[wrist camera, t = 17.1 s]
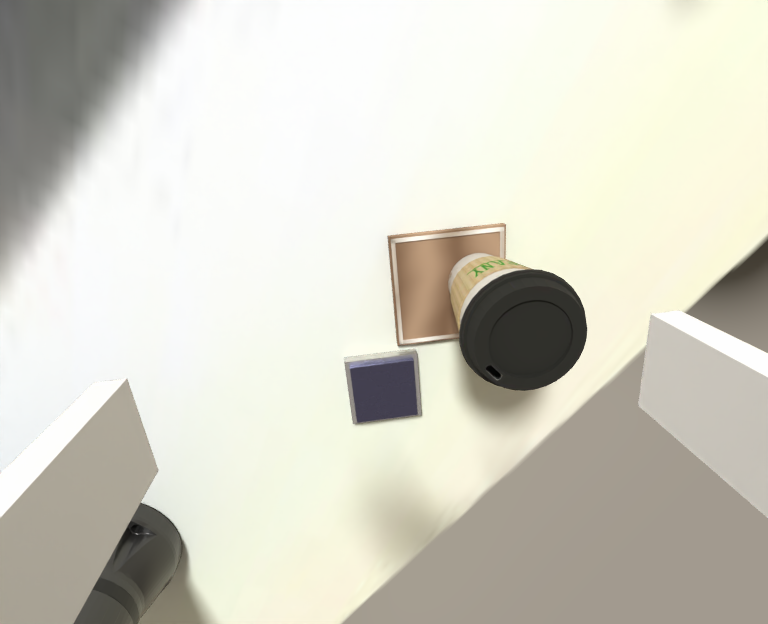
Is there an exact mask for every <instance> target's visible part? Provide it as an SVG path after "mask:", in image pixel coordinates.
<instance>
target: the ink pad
mask: <svg viewBox="0 0 768 624" xmlns="http://www.w3.org/2000/svg"><path fill="white" fill-rule="evenodd" d="M344 362H345V370H346V377H347V384H348V391H349V399H350V406H351V413H352V420H353V424H357V423H364V422H372V421H379V420H387V419H394V418H402V417H409V416H417V415H421V401H420V387H419V373H418V359H417V352H416V349H408V350H400V351H392V352H384V353H376V354H368V355H360V356H352V357H344Z"/></svg>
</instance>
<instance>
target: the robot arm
mask: <svg viewBox="0 0 768 624" xmlns="http://www.w3.org/2000/svg"><path fill="white" fill-rule="evenodd" d="M638 406H639V407H640V408H642V409H643V410H644V411H645V412H646V413H648V415H650V416H651V417H652V418H653V419H655V421H657V422H658V423H659V424H660V425H661V426H662V427H663V428H665V429H666V430H667V431H668V432H669V433H670V434H672V435H673V436H674V437H675V438H676V439H677V440H678V441H680V442H681V443H682V444H683V445H684V446H685V447H686V448H688V449H689V450H690V451H691V452H692V453H693V454H695V455H696V456H697V457H698V458H699V459H700V460H701V461H703V462H704V463H705V464H706V465H707V466H708V467H710V468H711V469H712V470H713V471H714V472H715V473H716V474H717V475H719V476H720V477H721V478H722V479H723V480H724V481H726V482H727V483H728V484H729V485H730V486H731V487H732V488H734V489H735V490H736V491H737V492H738V493H739V494H741V495H742V496H743V497H744V498H745V499H746V500H747V501H749V502H750V503H751V504H752V505H753V506H754V507H756V508H757V509H758V510H759V511H760V512H761V513H762V514H764V515H765V516H766V517H767V518H768V353H766V352H764V351H762V350H759V349H758V348H756V347H753V346H751V345H749V344H747V343H745V342H743V341H741V340H739V339H737V338H735V337H733V336H730V335H729V334H727V333H725V332H723V331H720V330H718V329H716V328H714V327H712V326H710V325H708V324H706V323H704V322H702V321H700V320H698V319H696V318H694V317H692V316H690V315H687V314H685V313H683V312H681V311H671V312H663V313H655V314H651V316H650V323H649V330H648V337H647V345H646V352H645V360H644V367H643V374H642V381H641V389H640V396H639V403H638ZM157 472H158V468H157V465H156V462H155V459H154V456H153V453H152V450H151V447H150V444H149V441H148V439H147V436H146V433H145V430H144V427H143V424H142V421H141V418H140V415H139V412H138V409H137V406H136V403H135V400H134V398H133V395H132V392H131V389H130V386H129V383H128V380H127V379H119V380H111V381H103V382H95V383H93V384H92V385H91V386H90V387H89V388H88V389H87V390H86V391H85V392H84V393H83V394H82V395H81V396H80V397H79V398H78V399H77V400H76V401H75V402H74V403H73V404H72V405H70V406H69V407H68V408H67V409H66V410H65V411H64V412H63V413H62V414H61V415H60V416H59V417H58V418H57V419H56V420H55V421H54V422H53V423H52V424H51V425H50V426H49V427H48V428H47V429H46V430H45V431H44V432H43V433H42V434H41V435H40V436H39V437H37V438H36V439H35V440H34V441H33V442H32V443H31V444H30V445H29V446H28V447H27V448H26V449H25V450H24V451H23V452H22V453H21V454H20V455H19V456H18V457H17V458H16V459H15V460H14V461H13V462H12V463H11V464H10V465H9V466H8V467H7V468H5V469H4V470H3V471H2V472H1V473H0V624H138V622H139V620H140V618H141V617H142V616H143V614H144V613H145V612H146V611H147V609H148V608H149V607H150V605H151V604H152V603H153V602H154V600H155V599H156V598H157V596H158V595H159V594H160V592H161V591H162V590H163V589H164V588H165V587H166V586H167V585H168V584H169V582H170V581H171V579H172V577H173V575H174V573H175V571H176V568H177V566H178V563H179V560H180V557H181V553H182V544H181V539H180V536H179V534H178V532H177V530H176V528H175V527H174V526H173V524H172V523H171V522H170V521H169V520H168V519H167V518H166V517H165V516H163V515H162V514H161V513H159V512H158V511H156V510H154V509H153V508H151V507H148V506H146V505H144V504H141V501H142V499H143V497H144V496H145V494H146V492H147V490H148V488H149V486H150V485H151V483H152V481H153V479H154V477H155V476H156V474H157Z"/></svg>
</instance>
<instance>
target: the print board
mask: <svg viewBox="0 0 768 624" xmlns="http://www.w3.org/2000/svg"><path fill="white" fill-rule="evenodd" d="M388 246H389V257H390V269H391V280H392V291H393V303H394V314H395V325H396V337H397V344H398V346H400V345H408V344H416V343H424V342H432V341H440V340H448V339H457V338H459V329H458V326H457V322H456V318H455V315H454V311H453V307H452V304H451V298H450V292H449V288H448V281H449V276H450V273H451V271H452V269H453V267H454V266H455V265H456V263H457V262H458V261H460V260H461V259H462V258H464V257H466V256H468V255H471V254H474V253H486V254H489V255H492V256H496V257H500V258H504V259H505V253H506V224H504V223H500V224H491V225H482V226H473V227H464V228H455V229H446V230H436V231H427V232H418V233H409V234H400V235H391V236H388Z"/></svg>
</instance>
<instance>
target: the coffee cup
mask: <svg viewBox="0 0 768 624" xmlns="http://www.w3.org/2000/svg"><path fill="white" fill-rule="evenodd" d="M448 288H449V292H450V298H451V304H452V307H453V311H454V315H455V318H456V322H457V326H458V329H459V342H460V347H461V351H462V354H463V356H464V358H465V360H466V362H467V364H468V365H469V366H470V367H471V368H472V369H473V371H474V372H475V373H477V374H478V375H479V376H480V377H482V378H483V379H484V380H486V381H488V382H490V383H492V384H495V385H497V386H501V387H504V388H508V389H512V390H523V391H525V390H533V389H538V388H541V387H544V386H547V385H549V384H551V383H553V382H555V381H557V380H558V379H560V378H561V377H562V376H564V375H565V374H566V373H567V372H568V371H569V370H570V369H571V368H572V367H573V366H574V364H575V363H576V362H577V360H578V359H579V357H580V355H581V353H582V351H583V349H584V346H585V342H586V337H587V325H586V318H585V311H584V307H583V305H582V302H581V300H580V298H579V296H578V295H577V294H576V292H575V291H574V289H573V288H572V287H571V286H570V285H569V284H568V283H567V282H566V281H565V280H564V279H562V278H560V277H558V276H557V275H555V274H553V273H550V272H546V271H543V270H534V269H531V268H528V267H525V266H523V265H520V264H517V263H515V262H512V261H509V260H507V259H504V258H500V257H496V256H492V255H489V254H486V253H474V254H471V255H468V256H466V257H464V258H462V259H461V260H460V261H458V262H457V263H456V265H455V266H454V267H453V269H452V271H451V273H450V276H449V281H448Z"/></svg>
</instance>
